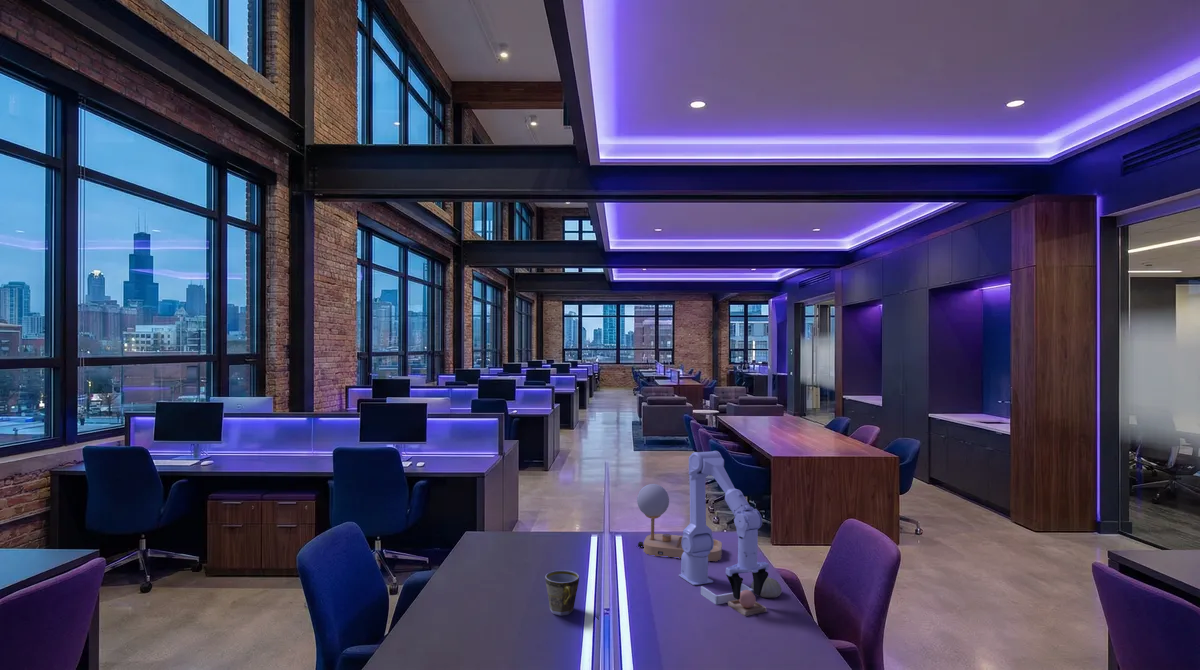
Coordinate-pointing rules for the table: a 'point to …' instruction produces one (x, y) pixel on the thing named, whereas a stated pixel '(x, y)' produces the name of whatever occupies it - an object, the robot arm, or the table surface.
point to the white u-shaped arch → (724, 597)
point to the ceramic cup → (562, 591)
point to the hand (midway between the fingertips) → (746, 596)
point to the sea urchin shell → (769, 588)
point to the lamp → (653, 506)
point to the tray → (746, 611)
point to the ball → (747, 599)
